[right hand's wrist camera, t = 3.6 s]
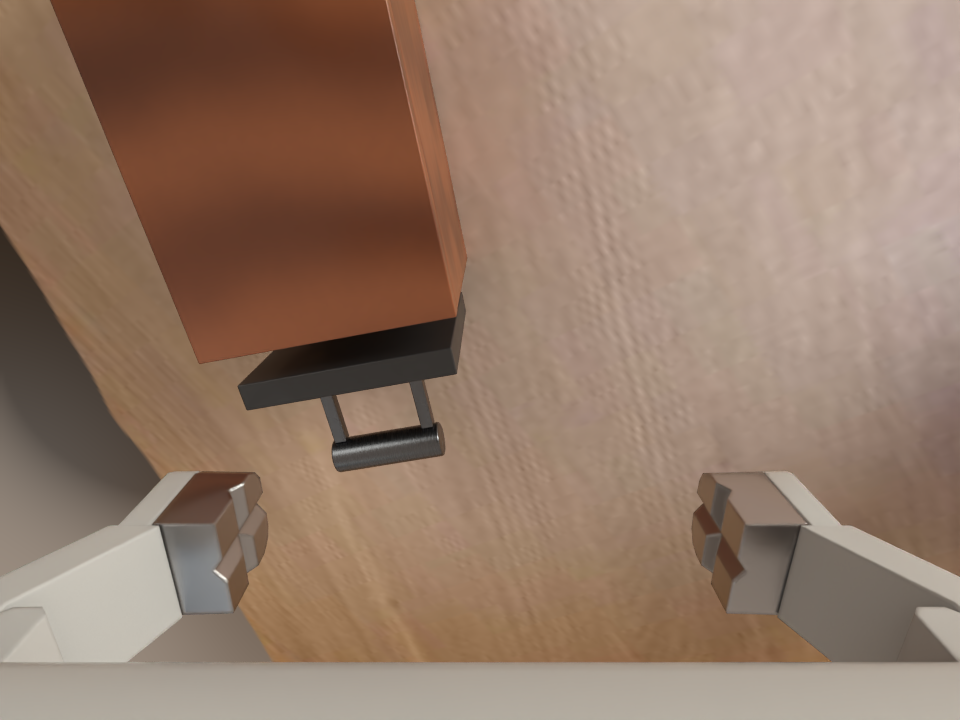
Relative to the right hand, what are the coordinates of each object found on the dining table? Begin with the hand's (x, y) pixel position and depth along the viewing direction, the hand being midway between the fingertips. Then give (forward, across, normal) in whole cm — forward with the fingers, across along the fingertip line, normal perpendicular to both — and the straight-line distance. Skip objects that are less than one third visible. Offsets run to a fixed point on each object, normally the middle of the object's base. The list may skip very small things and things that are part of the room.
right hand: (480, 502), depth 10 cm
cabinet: (+23, +8, -8) cm, 25 cm away
